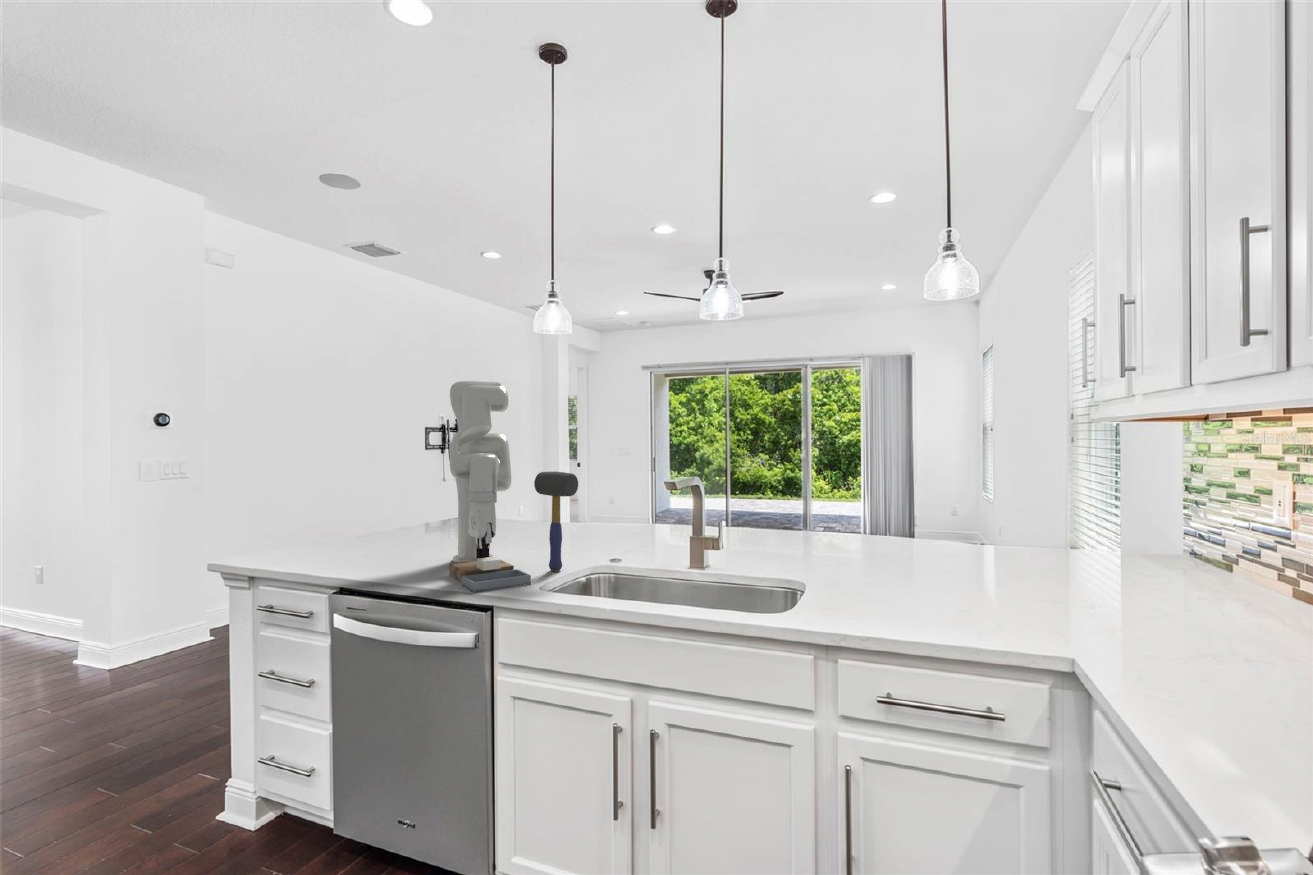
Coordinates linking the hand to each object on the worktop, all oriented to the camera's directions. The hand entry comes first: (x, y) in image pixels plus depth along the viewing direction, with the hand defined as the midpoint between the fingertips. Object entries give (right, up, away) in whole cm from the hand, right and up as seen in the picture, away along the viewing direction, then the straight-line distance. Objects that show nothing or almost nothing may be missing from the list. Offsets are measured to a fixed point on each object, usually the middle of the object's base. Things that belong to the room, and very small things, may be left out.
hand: (482, 561), depth 176 cm
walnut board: (-1, -5, +1) cm, 5 cm away
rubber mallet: (+19, -5, +9) cm, 22 cm away
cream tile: (+3, -1, -3) cm, 4 cm away
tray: (+6, -5, -8) cm, 11 cm away
